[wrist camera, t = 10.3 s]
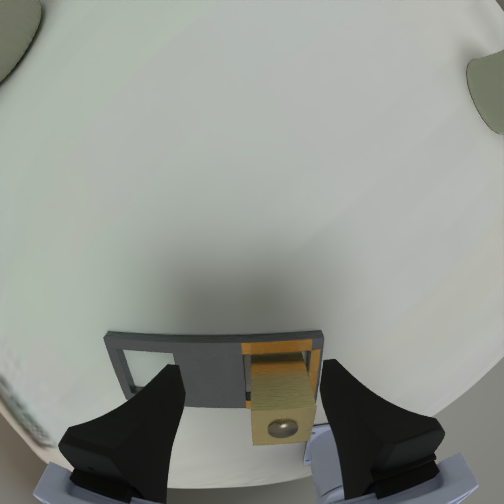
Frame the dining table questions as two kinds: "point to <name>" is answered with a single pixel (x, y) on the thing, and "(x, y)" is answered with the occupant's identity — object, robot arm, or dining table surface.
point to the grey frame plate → (213, 362)
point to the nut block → (281, 399)
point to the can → (488, 89)
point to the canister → (16, 31)
